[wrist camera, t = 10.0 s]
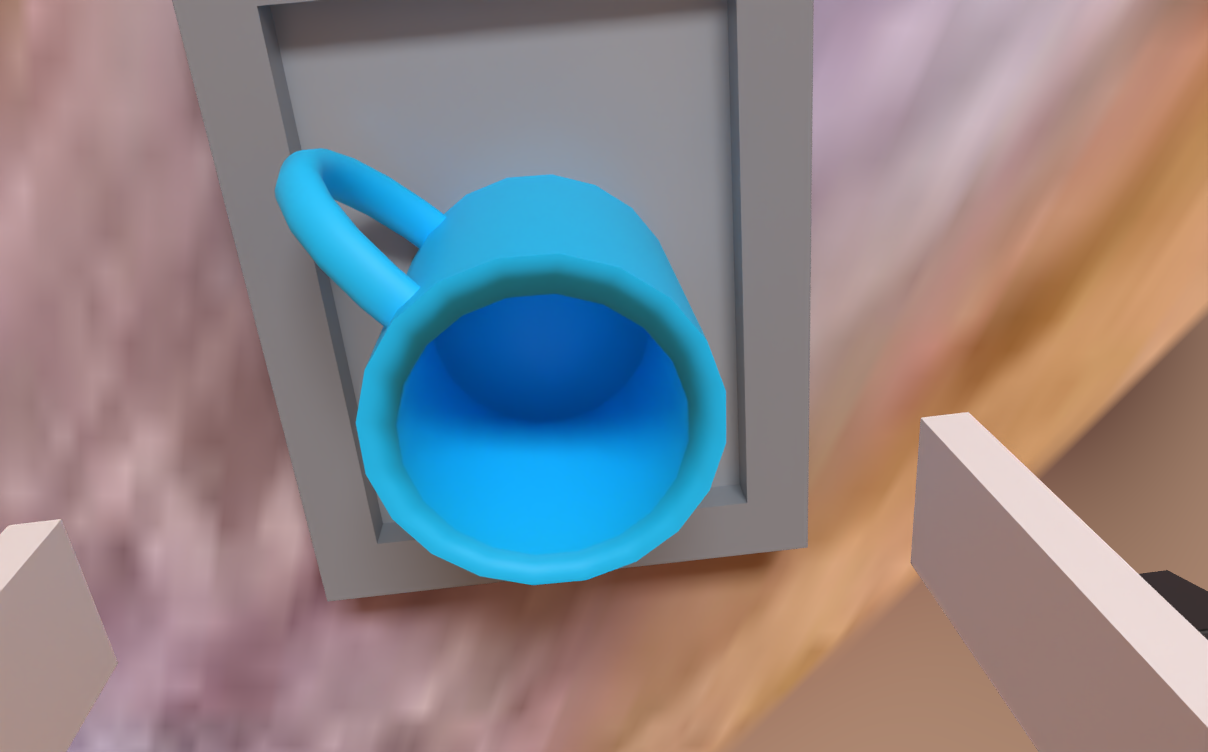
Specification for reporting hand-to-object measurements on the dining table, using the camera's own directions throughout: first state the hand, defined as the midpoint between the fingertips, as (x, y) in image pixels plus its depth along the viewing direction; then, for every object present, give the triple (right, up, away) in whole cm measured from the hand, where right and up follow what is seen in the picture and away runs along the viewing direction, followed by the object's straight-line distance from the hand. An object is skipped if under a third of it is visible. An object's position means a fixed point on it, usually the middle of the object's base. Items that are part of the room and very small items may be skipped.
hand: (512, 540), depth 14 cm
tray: (-1, +6, +14) cm, 15 cm away
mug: (-2, +6, +13) cm, 14 cm away
